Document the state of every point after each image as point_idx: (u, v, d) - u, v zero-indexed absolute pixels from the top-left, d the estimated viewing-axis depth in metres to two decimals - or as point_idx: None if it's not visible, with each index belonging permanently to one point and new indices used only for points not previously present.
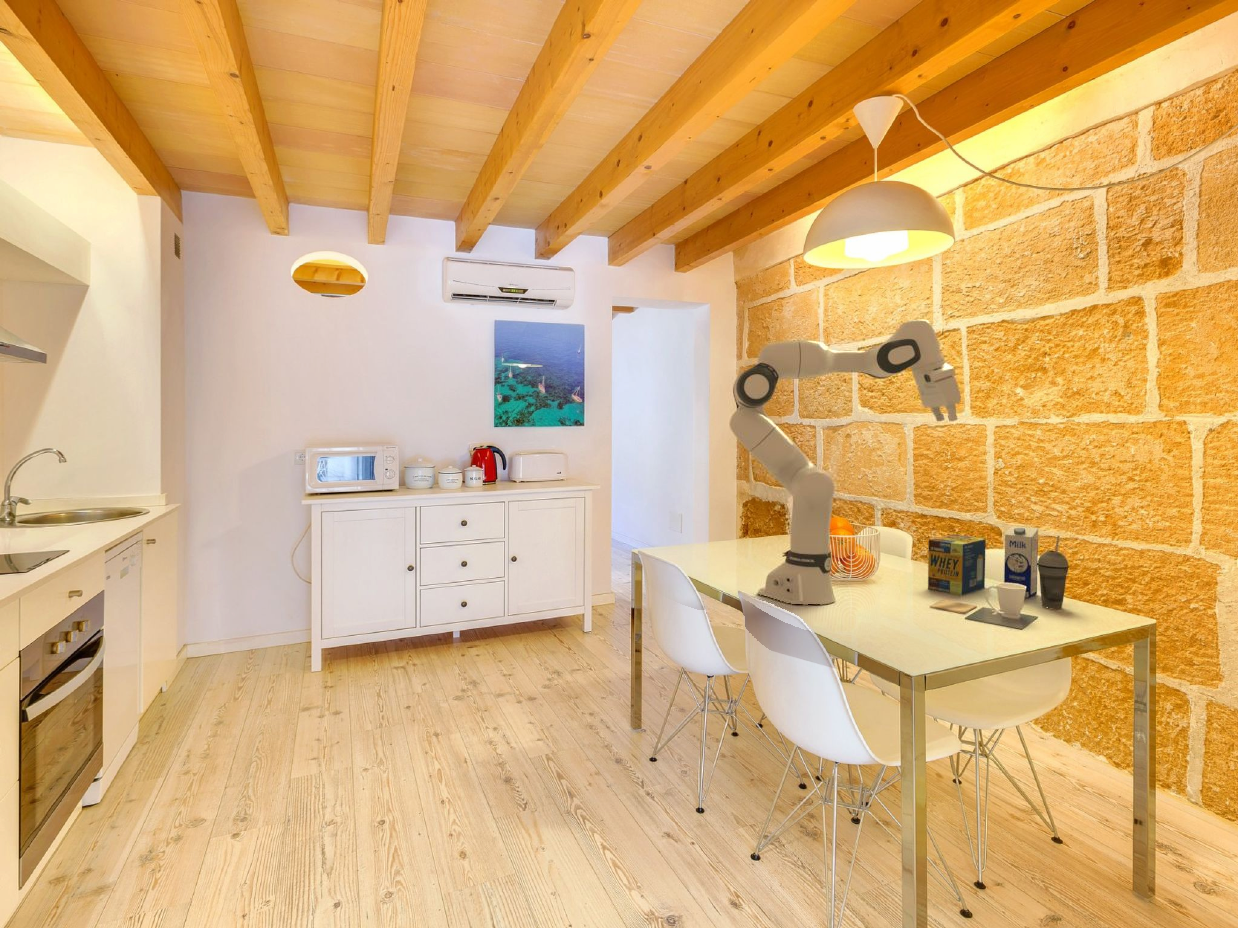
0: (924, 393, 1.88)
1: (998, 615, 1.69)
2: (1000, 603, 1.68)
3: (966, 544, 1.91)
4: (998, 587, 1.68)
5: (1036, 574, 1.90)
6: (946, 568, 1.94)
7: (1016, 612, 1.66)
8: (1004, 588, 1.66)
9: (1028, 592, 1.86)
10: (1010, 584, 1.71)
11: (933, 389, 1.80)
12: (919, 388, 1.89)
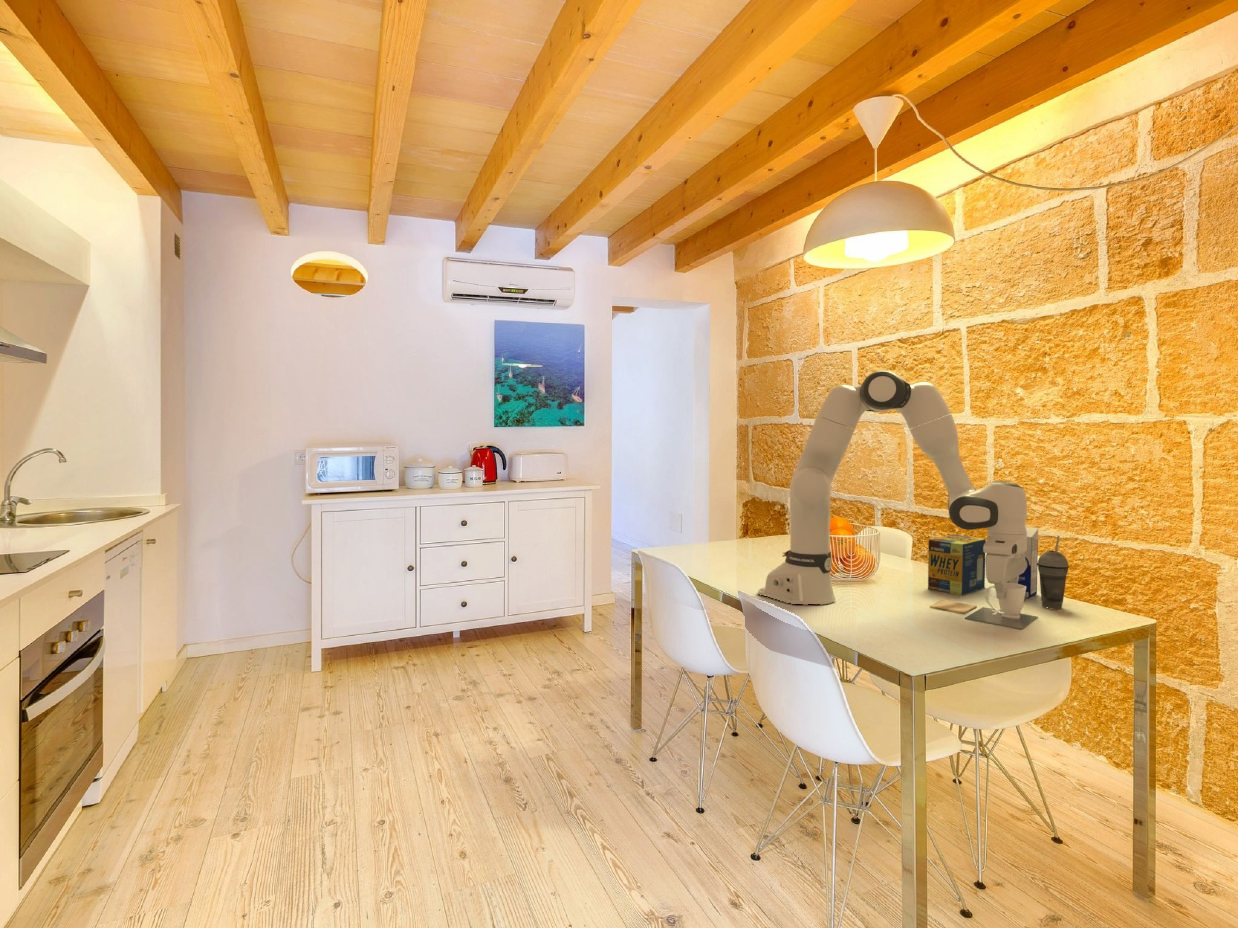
0: None
1: (998, 615, 1.69)
2: (1000, 603, 1.68)
3: (966, 544, 1.91)
4: None
5: (1036, 574, 1.90)
6: (946, 568, 1.94)
7: (1016, 612, 1.66)
8: None
9: (1028, 592, 1.86)
10: (1010, 584, 1.71)
11: None
12: None
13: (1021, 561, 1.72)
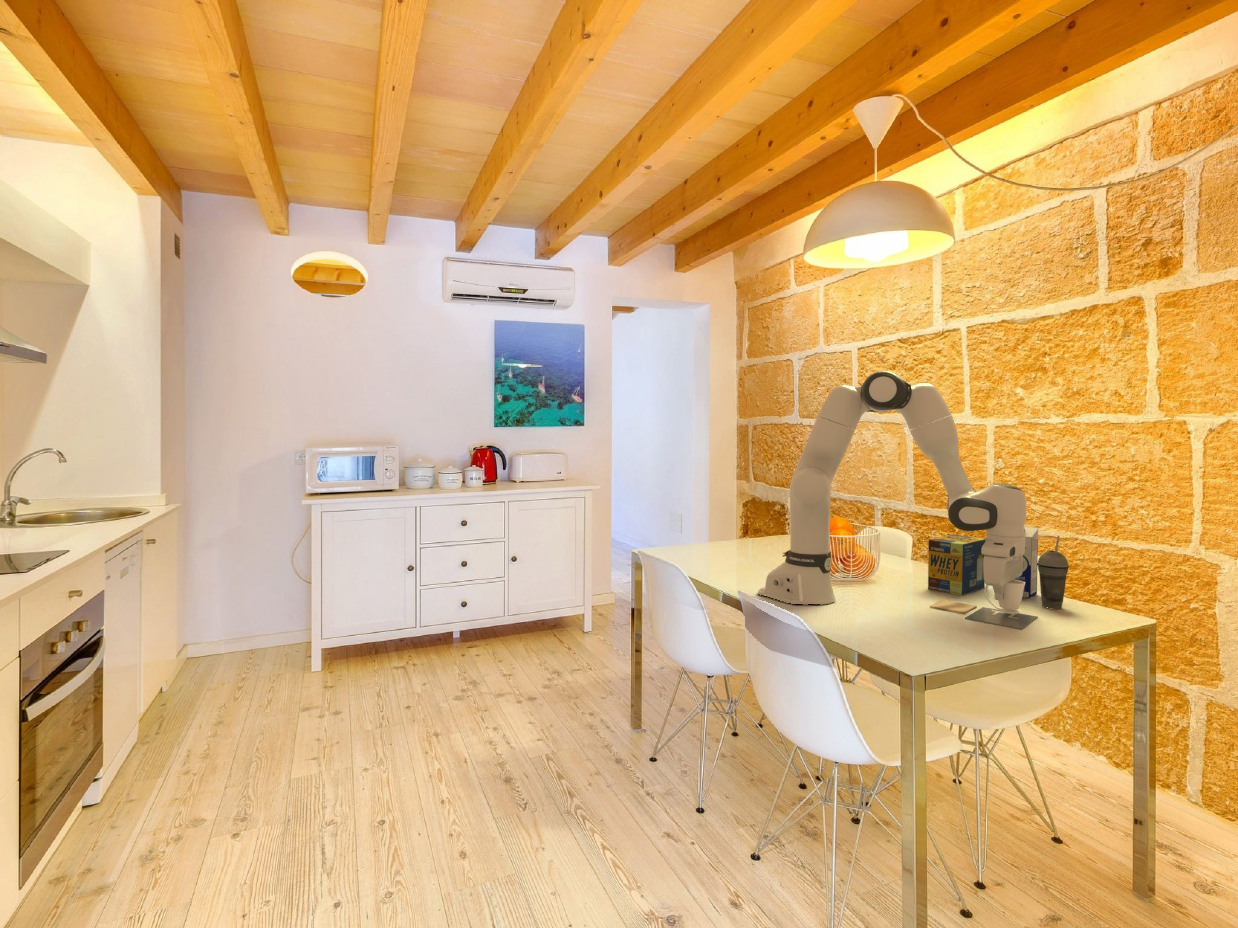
0: None
1: (998, 615, 1.69)
2: None
3: (966, 544, 1.91)
4: None
5: (1036, 574, 1.90)
6: (946, 568, 1.94)
7: (1014, 607, 1.66)
8: None
9: (1028, 592, 1.86)
10: None
11: None
12: None
13: (1019, 564, 1.72)
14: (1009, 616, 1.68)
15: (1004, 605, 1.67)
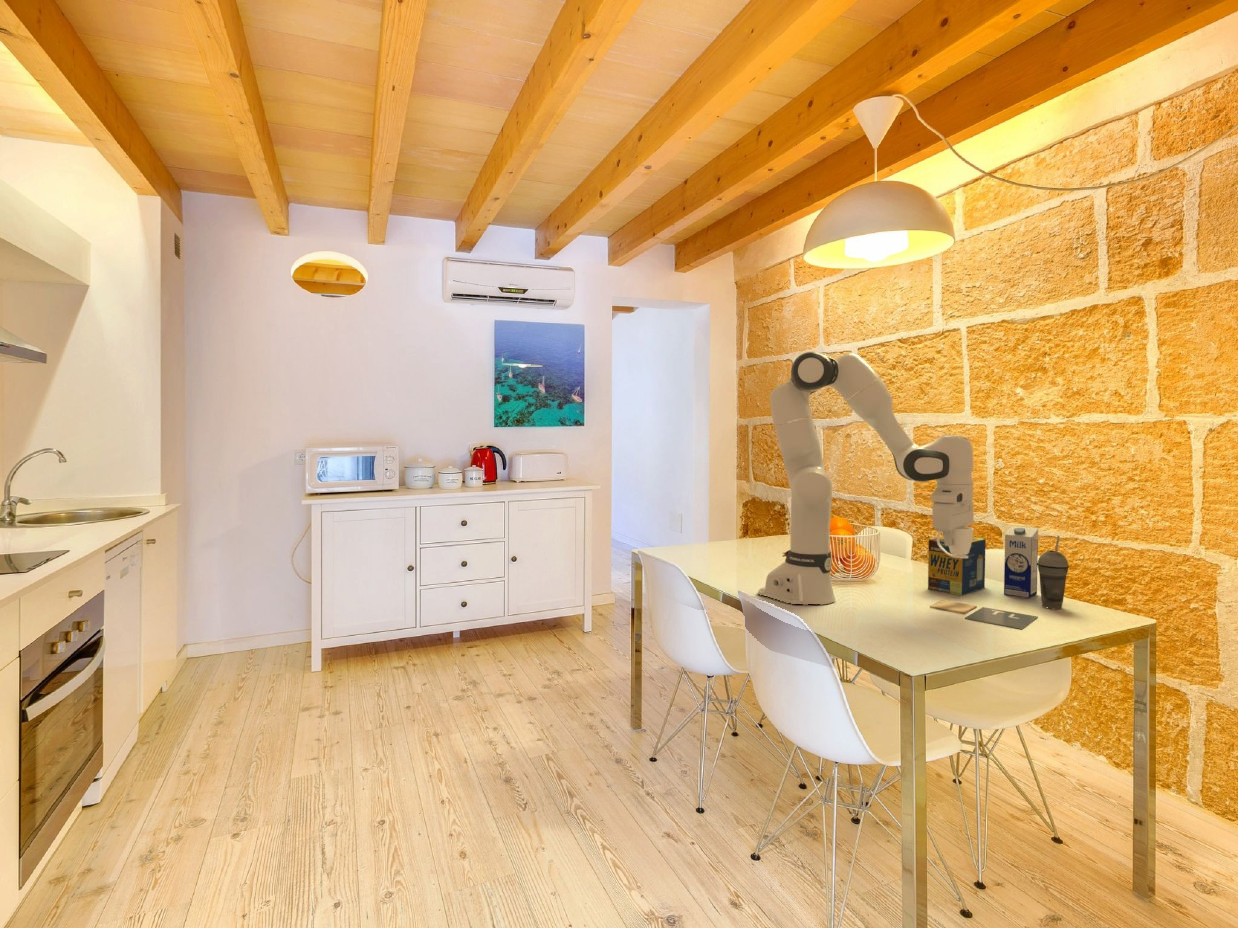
0: None
1: (998, 615, 1.69)
2: None
3: None
4: None
5: (1036, 574, 1.90)
6: (946, 568, 1.94)
7: (964, 552, 1.74)
8: None
9: (1028, 592, 1.86)
10: None
11: None
12: None
13: (969, 512, 1.80)
14: (1009, 616, 1.68)
15: (954, 550, 1.75)
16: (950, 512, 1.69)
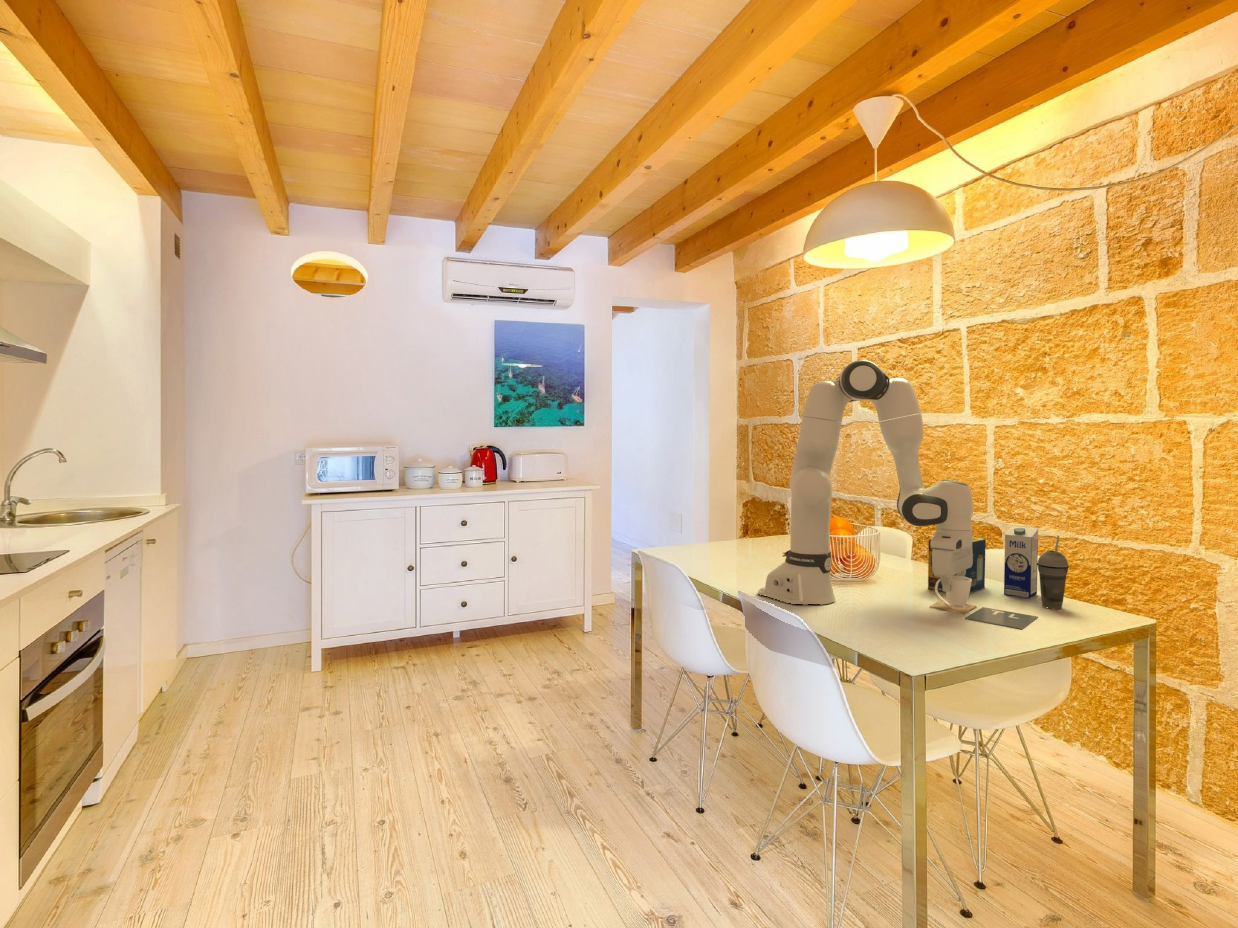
0: None
1: (998, 615, 1.69)
2: (947, 595, 1.77)
3: None
4: None
5: (1036, 574, 1.90)
6: None
7: (962, 603, 1.74)
8: (950, 580, 1.74)
9: (1028, 592, 1.86)
10: (957, 577, 1.79)
11: None
12: None
13: (968, 556, 1.80)
14: (1009, 616, 1.68)
15: (952, 601, 1.75)
16: (949, 559, 1.69)
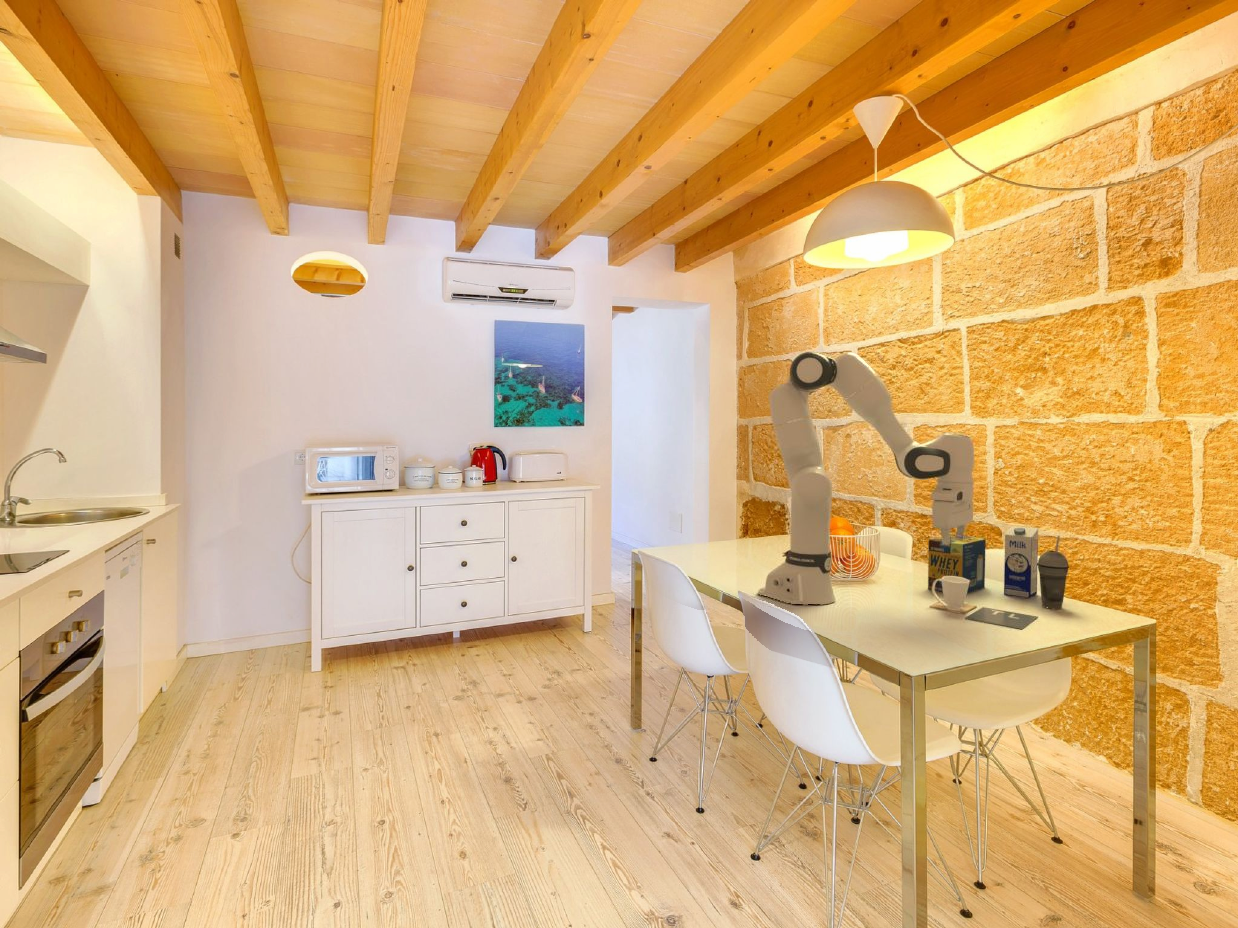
0: None
1: (998, 615, 1.69)
2: (944, 596, 1.75)
3: (966, 544, 1.91)
4: (943, 580, 1.75)
5: (1036, 574, 1.90)
6: (946, 568, 1.94)
7: (958, 605, 1.73)
8: (948, 582, 1.73)
9: (1028, 592, 1.86)
10: (955, 577, 1.77)
11: None
12: None
13: (968, 511, 1.80)
14: (1009, 616, 1.68)
15: (949, 602, 1.74)
16: (950, 510, 1.69)
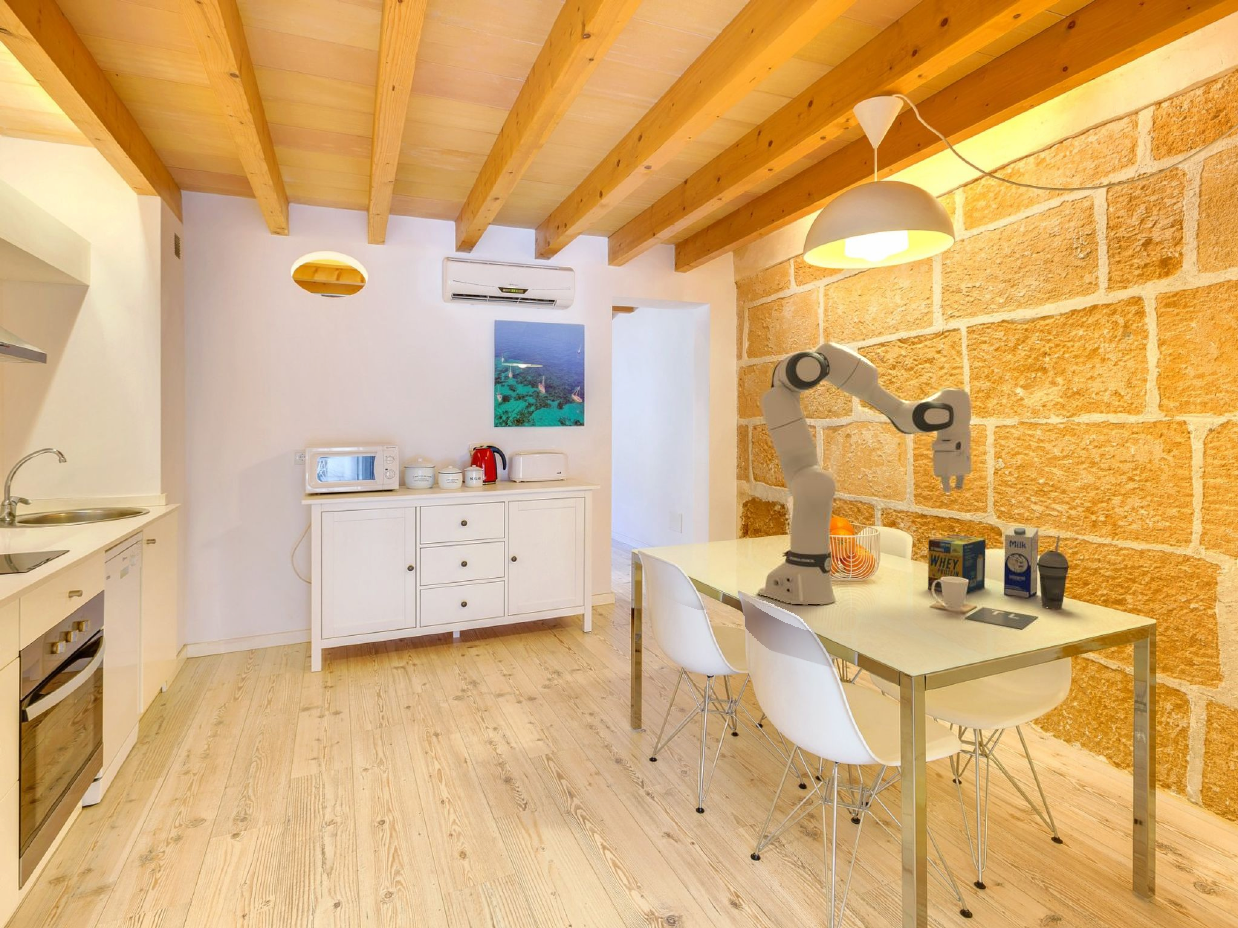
0: None
1: (998, 615, 1.69)
2: (944, 596, 1.75)
3: (966, 544, 1.91)
4: (942, 581, 1.75)
5: (1036, 574, 1.90)
6: (946, 568, 1.94)
7: (958, 605, 1.73)
8: (947, 582, 1.73)
9: (1028, 592, 1.86)
10: (954, 578, 1.78)
11: None
12: None
13: (967, 462, 1.91)
14: (1009, 616, 1.68)
15: (948, 602, 1.74)
16: (949, 459, 1.80)
